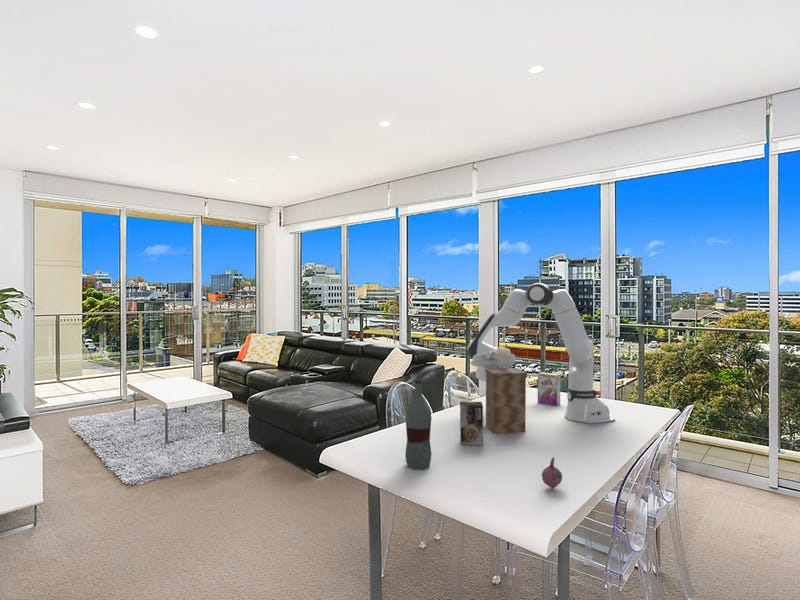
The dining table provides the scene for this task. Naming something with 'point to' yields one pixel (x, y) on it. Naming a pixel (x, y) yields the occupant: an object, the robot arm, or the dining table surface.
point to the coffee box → (471, 423)
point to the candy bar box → (549, 388)
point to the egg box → (502, 354)
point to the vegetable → (551, 475)
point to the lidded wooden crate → (505, 400)
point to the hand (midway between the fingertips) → (498, 353)
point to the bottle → (418, 431)
